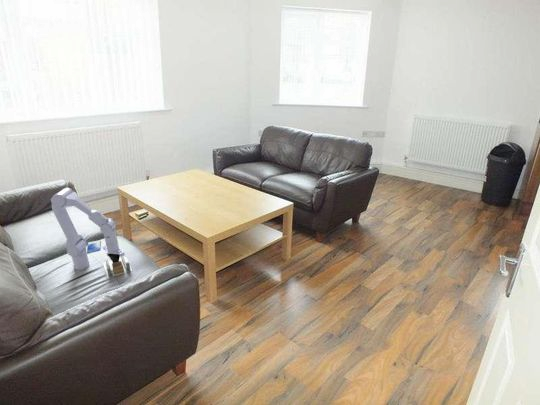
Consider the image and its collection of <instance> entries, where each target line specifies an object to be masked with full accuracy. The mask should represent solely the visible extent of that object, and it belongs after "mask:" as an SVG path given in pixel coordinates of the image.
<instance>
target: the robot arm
mask: <svg viewBox="0 0 540 405" xmlns="http://www.w3.org/2000/svg"><path fill="white" fill-rule="evenodd" d="M50 202H51V209H52V212H53V214H54V215H55V218H56V220H57V222H58V224H59V226H60V228H61V229H62V232H63V235H64V236H65V238H66V242H65V247H66V252H67V255H69V256H70V257H71V259H72V263H73V264H72V265H73V267H74V269H75V270H78V271H80V270H85V269H86V268H88V267H90V260H89V257H88V254H87V247H88V241H87V240H86V239H85V238H84V237H83V235H81V234H79V233H78V231H77V229H76V227H75V226H74V223H73V221H72V219H71V217H70V215H69V213H68V211H67V209H66V208H67V207H75V208H77V210H79V211H81V212H82V213H84V214H86V215H87V216H88V220H90V221H91V222H92V223H93V224H95V225H96V226H98V227H99V230H100V232H101V233H102V234H103V237H104V241H105V245H103V246H102V249H103V250H104V251H105V254H106V256H108V258H109V259H110V261H112V262H113V263H115V262H119V259H120V258H121V257H122V256H124V257H125V252H124V251H123V250H122V249H121V248H120V246H119V241H118V234H117V232H116V227H117V222H116V220H115V219H114V218H111V217H106V215H104V214H103V213H102V211H99V210H97V209H92V207H90V205H88V204H87V203H86V202H84V201H83V199H82V198H80V197H79V196H78V194H77V192H76V191H74V190H73V189H72V188H69V187H64V188H62V189H61V190H60V191H58V192H57V193H55V194H53V195H52V197H50Z"/></svg>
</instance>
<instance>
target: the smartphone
mask: <svg viewBox="0 0 540 405" xmlns="http://www.w3.org/2000/svg"><path fill="white" fill-rule="evenodd" d="M101 243H102V241H101V239H97V240H92V241H87V247H86V252H87V255H89V254H93V253H98V252H100V251H102V250H101V249H102V244H101Z"/></svg>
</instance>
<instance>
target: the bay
mask: <svg viewBox="0 0 540 405" xmlns="http://www.w3.org/2000/svg"><path fill="white" fill-rule="evenodd" d="M119 261H121V262H122V265H123V268H124V272H123V273H119V274H116V275H115V273H114V270H113V266H112V263H113V262H112V260H108V258H107V259H105V261H104V262H103V263H102V264H103V267H104V268H103V269H104V271H105V274H106V277H107V279H108V278H111V277H114V276H119V275H122V274H125V273H128V272H132V271H133V270H132V268H131V264H130V262H129V260H128V258H127V256H125V255H124V256H122V257H121V256H120V257H119Z"/></svg>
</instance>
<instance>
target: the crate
mask: <svg viewBox="0 0 540 405" xmlns="http://www.w3.org/2000/svg"><path fill="white" fill-rule="evenodd" d="M112 266H113V270H114V273H115V276H117V275H116V274H119V273H122V274H124V273H123V272H124V268H123V265H122V262H121V261H119V262H115V263H112ZM119 275H120V274H119Z"/></svg>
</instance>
